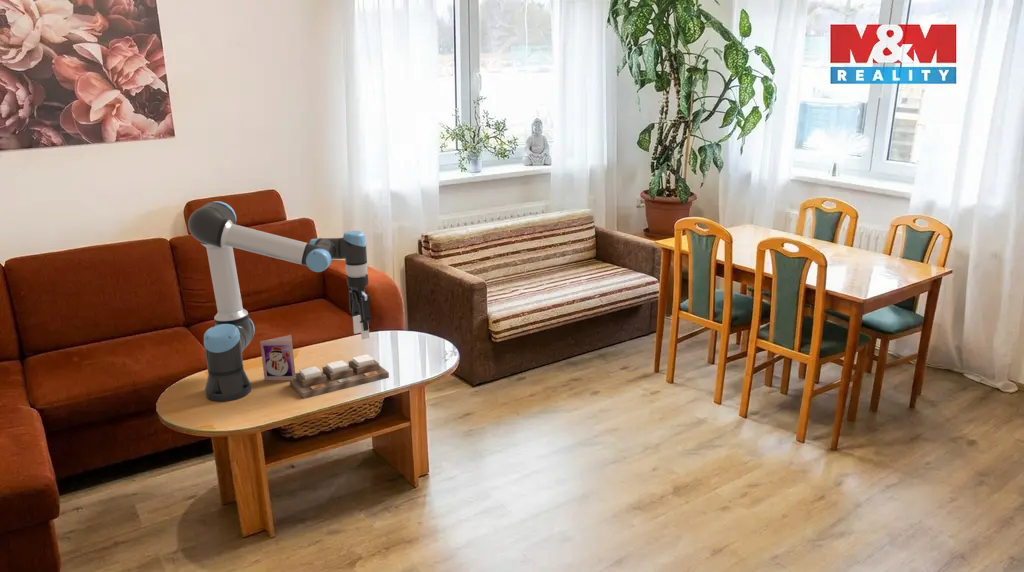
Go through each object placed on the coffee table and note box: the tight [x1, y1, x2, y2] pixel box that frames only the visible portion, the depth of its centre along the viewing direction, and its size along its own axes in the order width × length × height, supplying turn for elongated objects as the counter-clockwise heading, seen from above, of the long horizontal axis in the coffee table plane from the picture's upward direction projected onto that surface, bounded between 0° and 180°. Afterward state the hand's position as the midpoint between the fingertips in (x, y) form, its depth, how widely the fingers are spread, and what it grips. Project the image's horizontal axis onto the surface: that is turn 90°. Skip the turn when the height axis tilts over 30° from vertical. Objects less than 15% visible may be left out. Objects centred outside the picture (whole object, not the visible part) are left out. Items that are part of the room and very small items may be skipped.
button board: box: [289, 359, 390, 400], centre depth 285 cm, size 32×14×4 cm, turn 123°
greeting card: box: [259, 334, 296, 381], centre depth 288 cm, size 11×7×15 cm, turn 90°
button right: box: [351, 353, 375, 367], centre depth 291 cm, size 6×6×2 cm
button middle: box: [325, 359, 349, 373], centre depth 286 cm, size 6×6×2 cm
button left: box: [299, 365, 323, 380], centre depth 281 cm, size 6×6×2 cm
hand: (361, 335), depth 288 cm, fingers open, 6 cm apart
